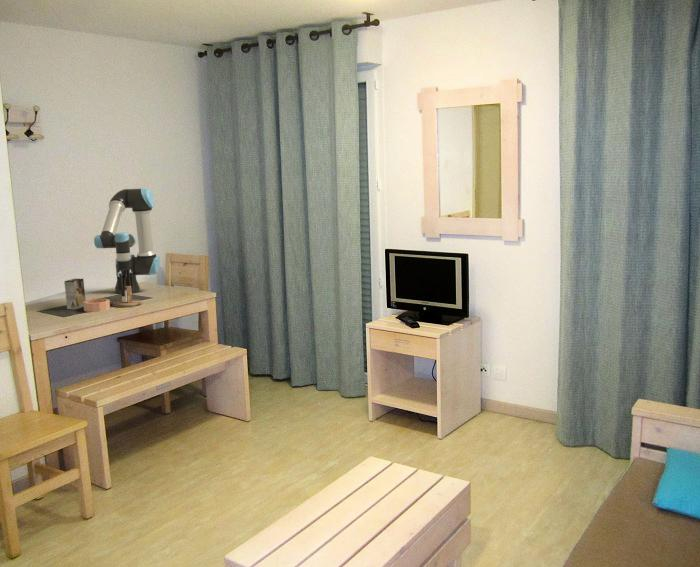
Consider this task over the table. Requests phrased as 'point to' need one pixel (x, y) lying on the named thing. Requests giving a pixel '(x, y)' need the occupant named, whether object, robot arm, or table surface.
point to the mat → (127, 307)
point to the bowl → (96, 305)
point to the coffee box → (75, 293)
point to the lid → (127, 300)
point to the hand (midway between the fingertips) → (127, 300)
